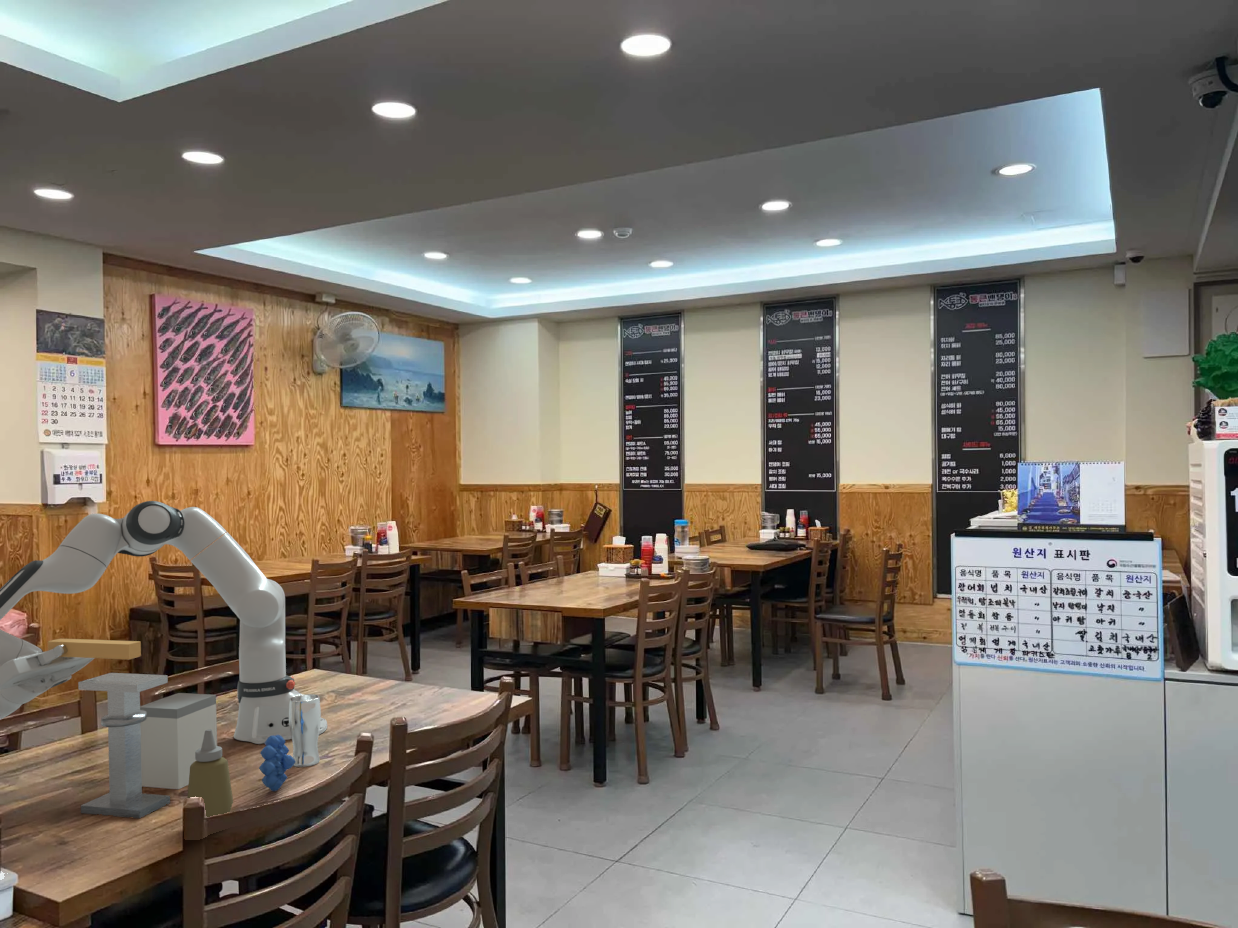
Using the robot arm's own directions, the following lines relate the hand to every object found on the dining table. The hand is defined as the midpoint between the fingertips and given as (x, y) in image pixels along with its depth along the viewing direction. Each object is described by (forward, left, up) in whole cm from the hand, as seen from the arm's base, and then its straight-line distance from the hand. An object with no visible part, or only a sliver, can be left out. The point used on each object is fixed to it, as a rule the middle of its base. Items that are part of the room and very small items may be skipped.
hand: (73, 645), depth 181 cm
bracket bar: (-5, +3, -2) cm, 6 cm away
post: (-11, +6, -32) cm, 35 cm away
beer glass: (-44, -11, -32) cm, 56 cm away
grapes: (-40, +6, -32) cm, 52 cm away
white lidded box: (-17, -10, -32) cm, 38 cm away
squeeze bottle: (-29, +21, -32) cm, 48 cm away
